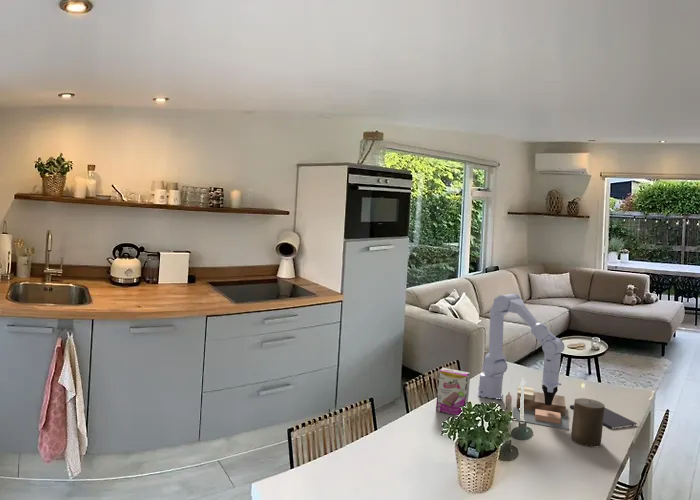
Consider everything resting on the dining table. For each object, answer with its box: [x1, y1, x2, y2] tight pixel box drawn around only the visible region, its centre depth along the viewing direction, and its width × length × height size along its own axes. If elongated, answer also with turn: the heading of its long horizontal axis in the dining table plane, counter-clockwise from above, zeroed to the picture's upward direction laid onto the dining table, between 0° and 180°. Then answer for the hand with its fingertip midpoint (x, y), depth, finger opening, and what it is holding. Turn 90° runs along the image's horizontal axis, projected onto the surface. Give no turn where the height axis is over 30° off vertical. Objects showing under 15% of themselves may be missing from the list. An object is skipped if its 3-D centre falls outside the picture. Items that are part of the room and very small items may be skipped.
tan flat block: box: [515, 391, 567, 416], centre depth 218 cm, size 18×12×4 cm, turn 71°
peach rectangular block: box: [535, 409, 561, 424], centre depth 206 cm, size 9×6×2 cm, turn 71°
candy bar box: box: [435, 367, 471, 416], centre depth 207 cm, size 11×5×16 cm, turn 65°
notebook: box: [569, 404, 637, 430], centre depth 212 cm, size 13×2×21 cm
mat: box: [512, 406, 570, 431], centre depth 207 cm, size 20×13×1 cm, turn 71°
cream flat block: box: [516, 385, 535, 400], centre depth 219 cm, size 9×6×2 cm, turn 161°
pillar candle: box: [570, 397, 606, 448], centre depth 188 cm, size 10×10×15 cm
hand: (548, 404), depth 209 cm, fingers closed
